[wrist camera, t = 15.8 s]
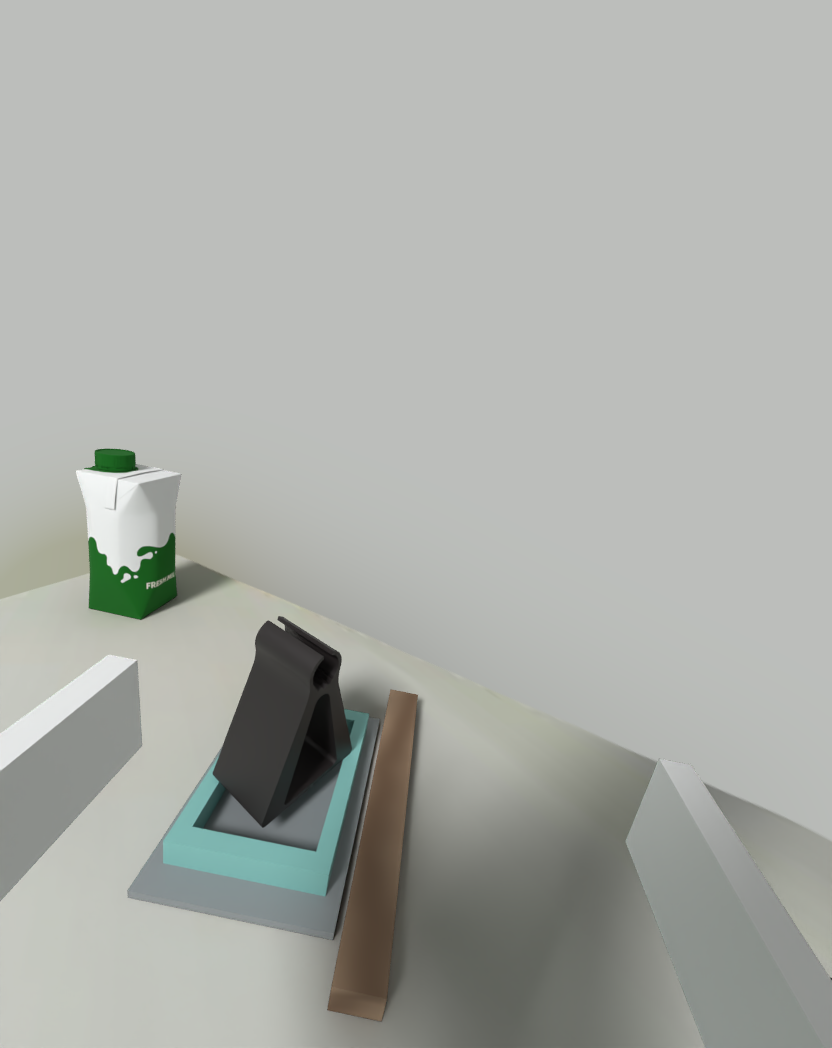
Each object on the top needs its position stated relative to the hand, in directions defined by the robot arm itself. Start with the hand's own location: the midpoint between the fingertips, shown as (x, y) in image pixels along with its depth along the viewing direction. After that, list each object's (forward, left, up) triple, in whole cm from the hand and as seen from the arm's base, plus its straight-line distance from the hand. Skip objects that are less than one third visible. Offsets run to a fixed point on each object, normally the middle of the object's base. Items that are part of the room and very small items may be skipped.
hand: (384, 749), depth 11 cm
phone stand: (+7, -18, -21) cm, 29 cm away
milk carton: (+36, -40, -24) cm, 59 cm away
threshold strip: (-1, -18, -24) cm, 29 cm away
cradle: (+7, -18, -24) cm, 30 cm away
